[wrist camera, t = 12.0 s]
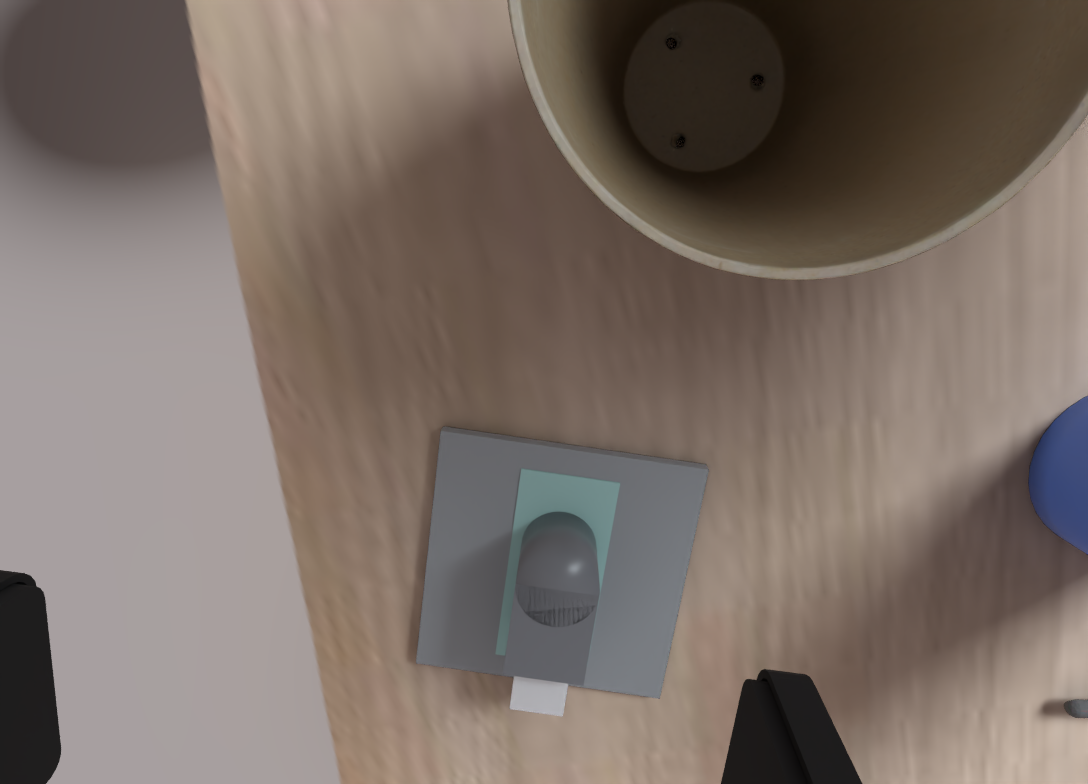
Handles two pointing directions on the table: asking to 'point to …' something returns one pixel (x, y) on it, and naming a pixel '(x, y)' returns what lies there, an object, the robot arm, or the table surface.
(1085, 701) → the walkie-talkie
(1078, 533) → the water bottle
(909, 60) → the plant pot
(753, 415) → the table surface
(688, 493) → the dock pad
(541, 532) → the usb plug
